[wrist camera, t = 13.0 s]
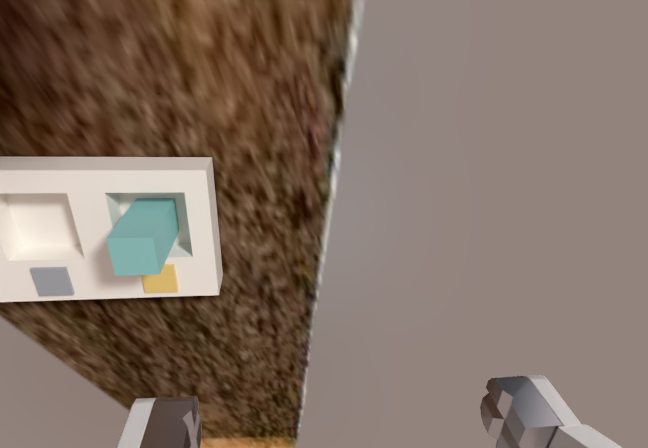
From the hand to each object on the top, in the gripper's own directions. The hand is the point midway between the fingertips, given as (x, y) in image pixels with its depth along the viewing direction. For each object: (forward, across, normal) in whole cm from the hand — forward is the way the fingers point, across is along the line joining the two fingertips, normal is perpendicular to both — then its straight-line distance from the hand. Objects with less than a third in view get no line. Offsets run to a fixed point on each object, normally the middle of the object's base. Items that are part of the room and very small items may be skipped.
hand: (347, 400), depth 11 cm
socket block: (+29, +18, +9) cm, 35 cm away
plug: (+28, +13, +8) cm, 32 cm away
